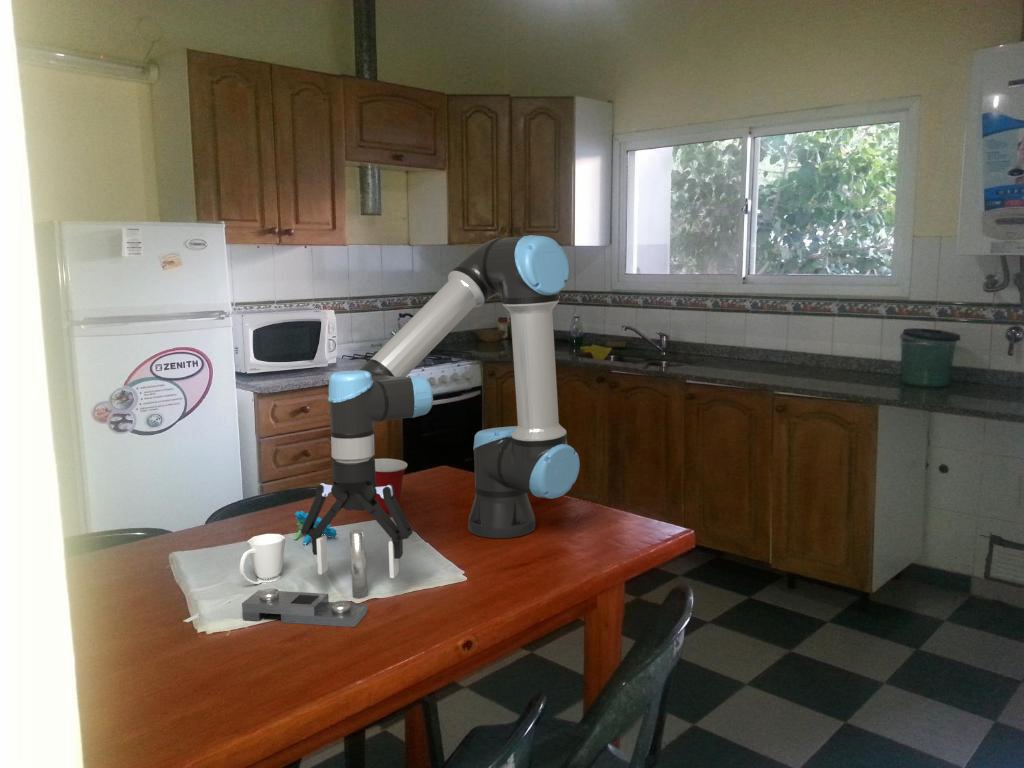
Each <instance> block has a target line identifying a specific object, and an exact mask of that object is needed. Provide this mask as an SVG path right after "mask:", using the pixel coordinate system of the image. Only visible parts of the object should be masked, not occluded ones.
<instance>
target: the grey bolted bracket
mask: <svg viewBox="0 0 1024 768" xmlns="http://www.w3.org/2000/svg"><path fill="white" fill-rule="evenodd" d="M241 609H242V610H241V611H242V621H249V622H260V621H261V620H263V619H264V618H265V617H266V616H267V615H268V614H274V615H280V622H281V623H283V624H297V625H299V624H301V625H312V626H313V625H315V626H331V627H346V628H347V627H348V628H349V627H350V628H355V627H357V625H358V624H359V623H360V622H361V620H363V618H364V617H365V616H366V615H367V614H368V604H367V603H352V602H351V601H348V600H338V601H329V593H324V592H323V593H322V592H301V591H282V590H279V589H277V588H266V589H258V590H256V592H254V593H253V594H252V595H251V596H249V597H248V598H246V599H245V600H244V601H243V602H241Z"/></svg>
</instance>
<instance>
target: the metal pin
mask: <svg viewBox="0 0 1024 768" xmlns="http://www.w3.org/2000/svg"><path fill="white" fill-rule="evenodd" d="M365 539H366V537H365V530H363V529H352V530H350V531H349V546H350V566H351V568H350V570H351V571H350V572H351V586H352V587H351V589H352V590H351V591H352V598H353V599H363V598H366V597H368V585H367V584H368V582H367V581H368V580H367V561H366V559H367V558H366V540H365Z"/></svg>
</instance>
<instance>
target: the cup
mask: <svg viewBox="0 0 1024 768" xmlns="http://www.w3.org/2000/svg"><path fill="white" fill-rule="evenodd" d="M246 543H247V546H248V547H247V548H248V550H246V551H245V552H244V553H243V554H242V556H241V558H240V562H239V573H240V577H241V578H242V579H243V580H245V581H246V582H248V583H250V584H255V585H260V584H259V583H261V582H272V581H276V580H278V579H279V578H280V577H281V575H280V574H281V573H282V569H283V564H284V555H285V546H286V545H285V543H286V537H285V536H283V535H282V534H281V533H264V534H259V535H255V536H252V537H251V538H250V539H248V540H247V541H246ZM248 555H250V560H251V563H252V564H251V565H252V567H253V571H254V573H255V575H256V576H257V578H256V581H254V580H251V579H249V578H248V577H247V576H246V574H245V562H246V560H247V557H248ZM271 577H272V578H271ZM262 578H268V579H267V580H266V579H265V580H264V579H262ZM269 578H270V579H269ZM280 579H281V578H280ZM280 579H279V580H280ZM257 580H258V581H257ZM279 580H278V581H279Z"/></svg>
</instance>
